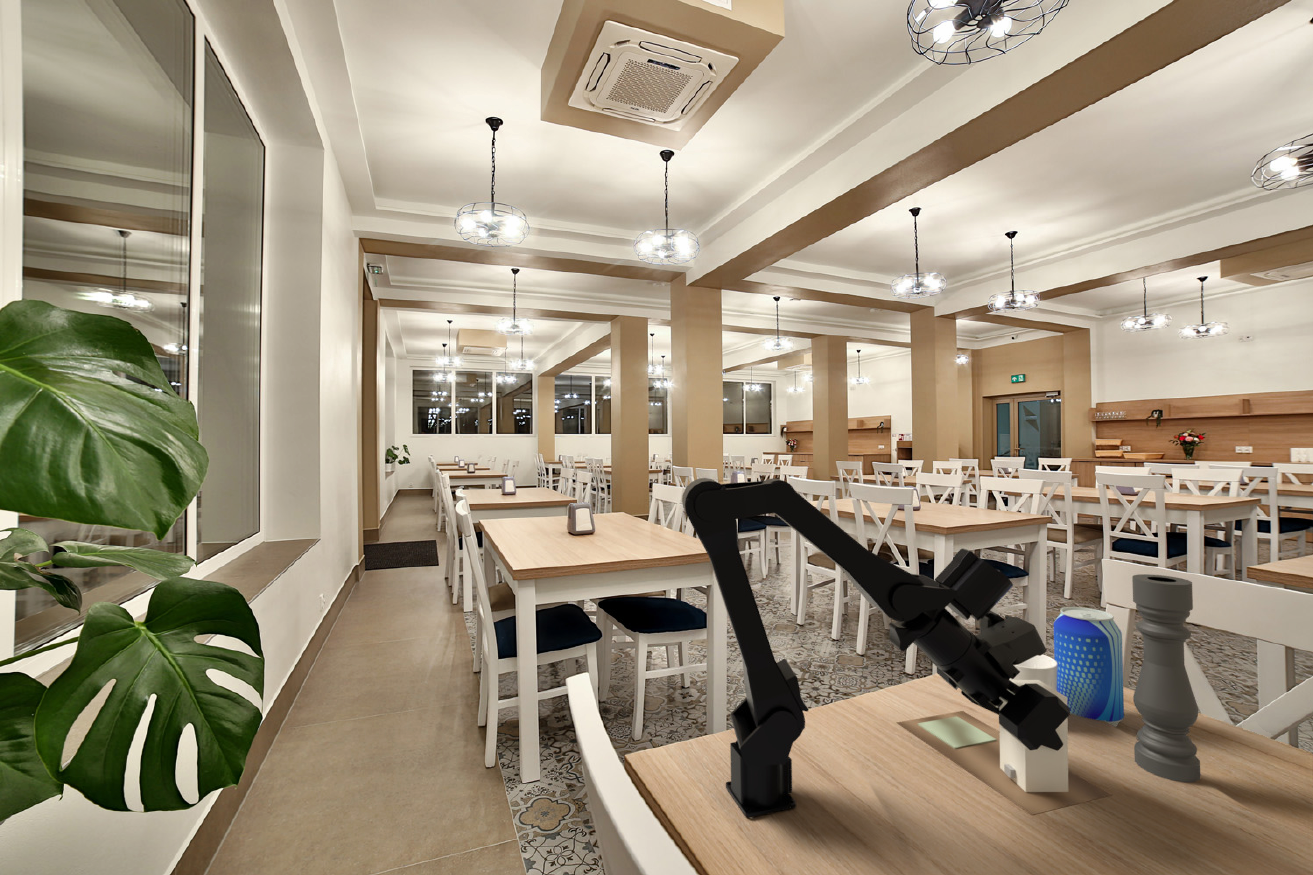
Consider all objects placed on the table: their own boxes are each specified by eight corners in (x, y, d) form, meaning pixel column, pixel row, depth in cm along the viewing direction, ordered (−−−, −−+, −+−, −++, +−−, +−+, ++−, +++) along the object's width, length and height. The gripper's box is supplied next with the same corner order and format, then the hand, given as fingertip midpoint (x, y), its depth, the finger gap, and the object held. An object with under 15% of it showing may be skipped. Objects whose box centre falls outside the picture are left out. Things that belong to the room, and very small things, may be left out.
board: (1032, 828, 63) (1030, 773, 63) (896, 732, 84) (895, 691, 84) (1112, 807, 66) (1111, 755, 67) (962, 720, 88) (961, 681, 88)
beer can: (1043, 711, 90) (1041, 609, 90) (1075, 700, 94) (1073, 602, 94) (1104, 735, 82) (1101, 624, 83) (1136, 723, 86) (1133, 616, 86)
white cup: (998, 731, 84) (996, 662, 84) (995, 708, 91) (993, 645, 91) (1063, 743, 81) (1061, 672, 81) (1055, 719, 88) (1053, 653, 88)
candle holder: (1214, 797, 68) (1208, 586, 68) (1154, 791, 69) (1149, 584, 70) (1178, 768, 74) (1173, 574, 74) (1123, 763, 75) (1118, 573, 76)
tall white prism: (1020, 792, 67) (1019, 697, 67) (995, 767, 72) (994, 680, 72) (1073, 791, 67) (1072, 697, 67) (1044, 767, 72) (1043, 679, 72)
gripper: (1048, 622, 61) (1156, 724, 60) (956, 580, 79) (1038, 658, 79) (976, 698, 60) (1084, 801, 60) (900, 638, 79) (983, 717, 79)
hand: (1044, 735), depth 70 cm, fingers closed on tall white prism, 5 cm apart
